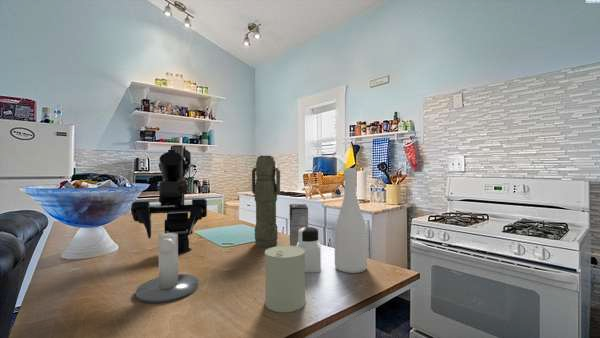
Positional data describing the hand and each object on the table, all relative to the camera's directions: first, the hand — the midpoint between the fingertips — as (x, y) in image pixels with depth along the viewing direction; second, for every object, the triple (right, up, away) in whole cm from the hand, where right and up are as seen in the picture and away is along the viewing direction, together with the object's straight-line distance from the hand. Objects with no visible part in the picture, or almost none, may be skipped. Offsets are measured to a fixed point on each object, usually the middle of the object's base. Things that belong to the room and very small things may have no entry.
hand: (169, 236), depth 72 cm
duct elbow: (+1, -12, -4) cm, 12 cm away
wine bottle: (+49, -13, +12) cm, 52 cm away
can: (+30, -13, -9) cm, 34 cm away
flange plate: (+1, -13, -2) cm, 13 cm away
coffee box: (+33, -13, +33) cm, 48 cm away
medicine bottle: (+36, -13, +12) cm, 40 cm away
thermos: (+21, -13, +38) cm, 45 cm away
